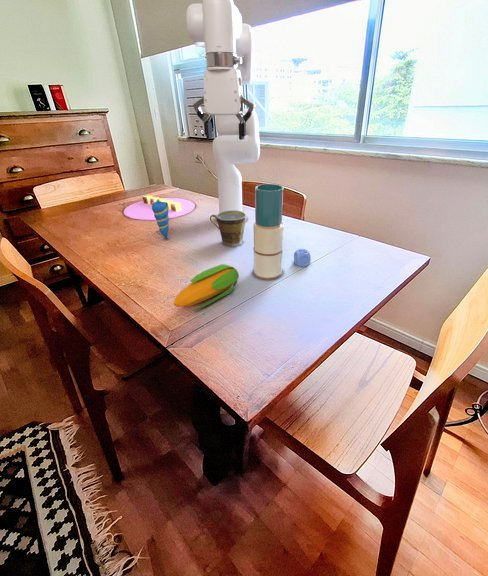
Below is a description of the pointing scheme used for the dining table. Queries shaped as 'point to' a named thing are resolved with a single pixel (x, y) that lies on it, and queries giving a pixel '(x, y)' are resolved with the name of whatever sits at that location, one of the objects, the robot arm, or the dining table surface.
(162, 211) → the ornament
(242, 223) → the ceramic cup
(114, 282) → the dining table surface
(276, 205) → the teal cup
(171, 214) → the platter
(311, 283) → the dining table surface
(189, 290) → the corn
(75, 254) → the dining table surface
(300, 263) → the decorative dice
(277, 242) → the cup stack
